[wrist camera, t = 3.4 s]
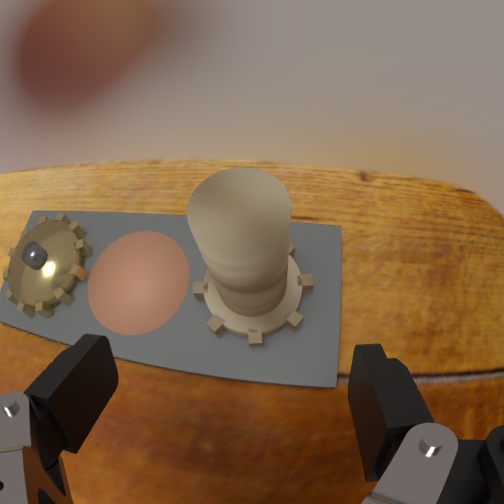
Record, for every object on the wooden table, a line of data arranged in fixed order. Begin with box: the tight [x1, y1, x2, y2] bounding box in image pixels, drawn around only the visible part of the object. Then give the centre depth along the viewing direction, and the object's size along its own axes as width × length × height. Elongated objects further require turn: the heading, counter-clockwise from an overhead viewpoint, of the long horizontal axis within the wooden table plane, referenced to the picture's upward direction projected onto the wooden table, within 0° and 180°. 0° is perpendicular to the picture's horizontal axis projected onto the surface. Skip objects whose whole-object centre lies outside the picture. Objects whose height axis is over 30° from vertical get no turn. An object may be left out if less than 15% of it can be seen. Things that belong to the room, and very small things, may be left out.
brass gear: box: [3, 213, 92, 318], centre depth 23 cm, size 9×9×3 cm
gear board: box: [0, 211, 341, 389], centre depth 24 cm, size 30×12×2 cm, turn 83°
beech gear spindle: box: [187, 168, 313, 349], centre depth 18 cm, size 8×8×10 cm
